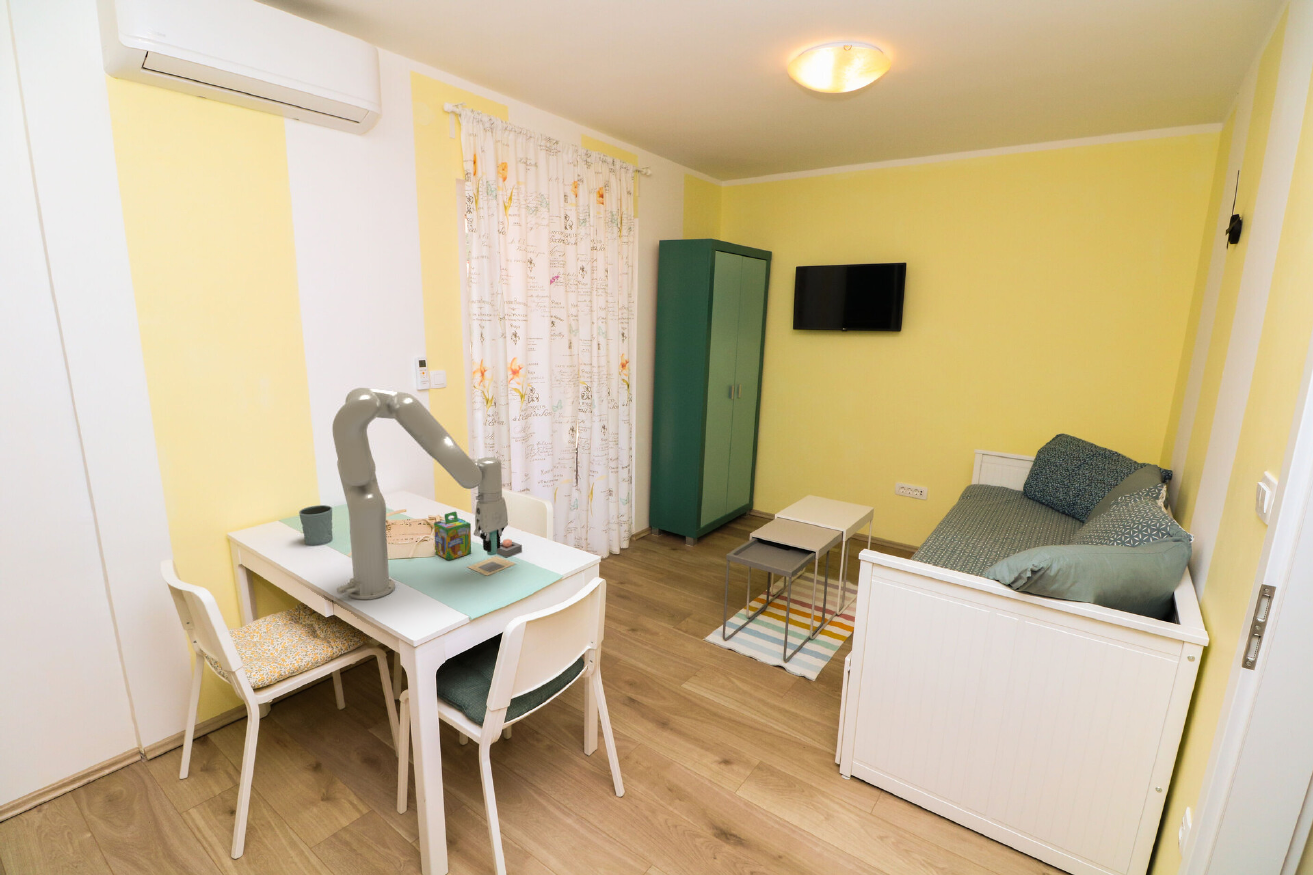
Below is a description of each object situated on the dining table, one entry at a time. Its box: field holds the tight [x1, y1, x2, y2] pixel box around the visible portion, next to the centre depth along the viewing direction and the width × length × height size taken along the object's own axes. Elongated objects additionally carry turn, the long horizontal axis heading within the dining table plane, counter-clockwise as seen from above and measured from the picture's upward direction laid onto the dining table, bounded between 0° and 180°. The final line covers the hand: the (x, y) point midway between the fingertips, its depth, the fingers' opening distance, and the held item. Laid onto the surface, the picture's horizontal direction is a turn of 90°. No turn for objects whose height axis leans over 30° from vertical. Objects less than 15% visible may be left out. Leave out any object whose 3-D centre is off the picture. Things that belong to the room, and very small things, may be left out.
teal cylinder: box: [486, 530, 498, 556], centre depth 193 cm, size 3×3×9 cm
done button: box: [502, 538, 513, 548], centre depth 207 cm, size 3×3×3 cm
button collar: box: [496, 541, 523, 559], centre depth 207 cm, size 7×7×2 cm
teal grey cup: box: [298, 504, 333, 547], centre depth 209 cm, size 10×10×12 cm
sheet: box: [466, 555, 516, 577], centre depth 196 cm, size 12×10×1 cm
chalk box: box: [433, 511, 472, 561], centre depth 203 cm, size 9×9×15 cm
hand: (491, 548), depth 193 cm, fingers closed on teal cylinder, 3 cm apart
